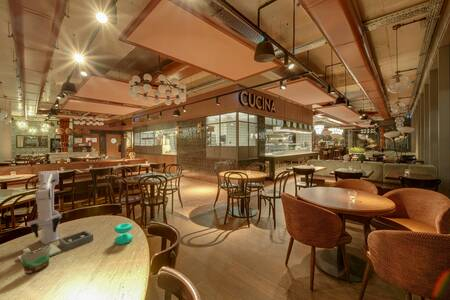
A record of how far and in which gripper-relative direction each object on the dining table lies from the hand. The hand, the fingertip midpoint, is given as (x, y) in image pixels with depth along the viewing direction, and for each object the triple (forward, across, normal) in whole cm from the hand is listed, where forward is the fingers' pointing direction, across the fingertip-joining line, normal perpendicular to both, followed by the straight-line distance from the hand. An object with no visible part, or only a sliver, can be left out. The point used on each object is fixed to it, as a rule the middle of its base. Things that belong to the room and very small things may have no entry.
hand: (45, 234), depth 116 cm
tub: (+10, +14, -1) cm, 18 cm away
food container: (+10, -7, -17) cm, 21 cm away
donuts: (+10, +32, -24) cm, 41 cm away
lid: (+10, -3, -2) cm, 11 cm away
